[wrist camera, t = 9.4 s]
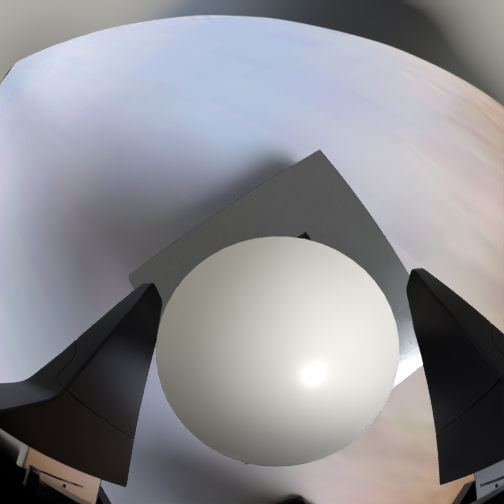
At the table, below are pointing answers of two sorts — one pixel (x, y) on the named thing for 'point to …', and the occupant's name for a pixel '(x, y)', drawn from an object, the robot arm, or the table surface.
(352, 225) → the collar
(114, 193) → the table surface
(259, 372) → the peg
